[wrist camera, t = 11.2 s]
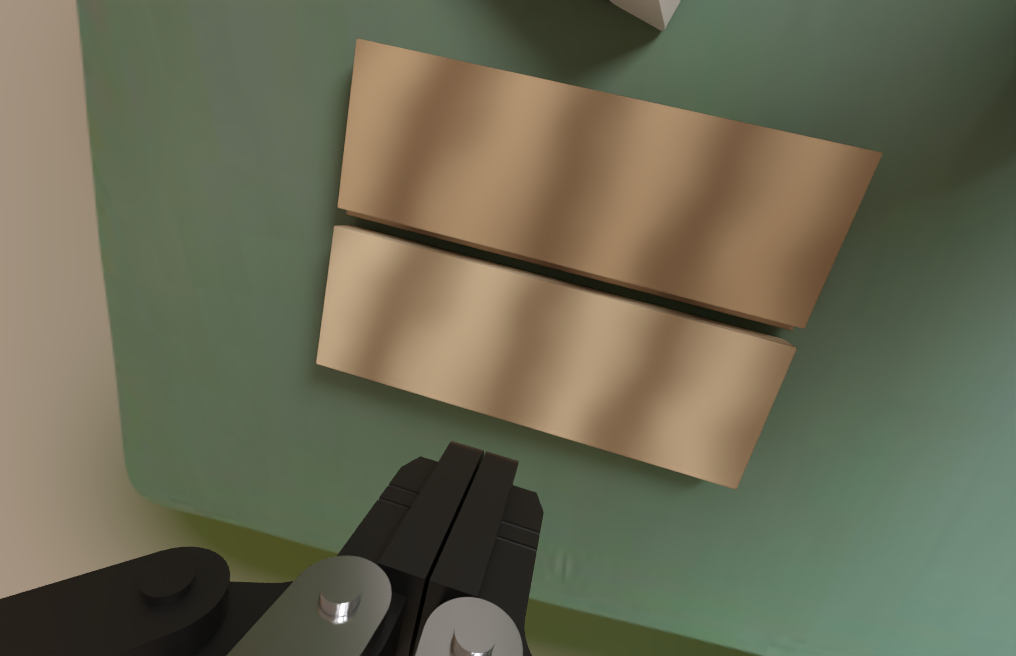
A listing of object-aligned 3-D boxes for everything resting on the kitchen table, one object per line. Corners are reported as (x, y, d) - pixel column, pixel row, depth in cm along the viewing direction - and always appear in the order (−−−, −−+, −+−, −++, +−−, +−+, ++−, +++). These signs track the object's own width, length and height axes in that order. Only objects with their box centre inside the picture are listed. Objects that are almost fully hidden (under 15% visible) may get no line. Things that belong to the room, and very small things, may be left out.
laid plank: (860, 156, 22) (883, 153, 20) (786, 326, 24) (800, 336, 22) (373, 49, 24) (356, 38, 22) (353, 213, 27) (336, 215, 25)
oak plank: (782, 338, 24) (796, 348, 22) (726, 471, 26) (736, 489, 25) (350, 224, 27) (334, 225, 25) (332, 354, 29) (316, 363, 27)
